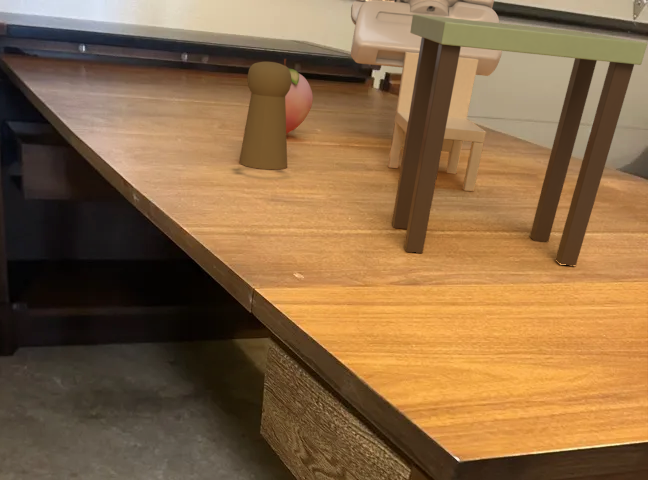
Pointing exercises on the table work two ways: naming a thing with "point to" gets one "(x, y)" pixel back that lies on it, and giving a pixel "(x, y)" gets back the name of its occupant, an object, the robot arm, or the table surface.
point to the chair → (456, 122)
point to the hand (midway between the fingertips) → (424, 91)
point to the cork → (266, 117)
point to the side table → (587, 49)
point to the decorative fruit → (297, 100)
